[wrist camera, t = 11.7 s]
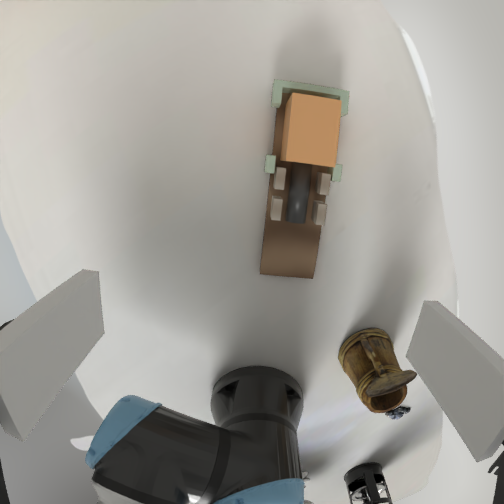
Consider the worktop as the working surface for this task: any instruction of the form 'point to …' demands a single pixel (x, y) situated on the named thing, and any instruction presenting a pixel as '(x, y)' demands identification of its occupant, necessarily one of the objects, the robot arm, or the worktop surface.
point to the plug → (308, 145)
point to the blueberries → (397, 412)
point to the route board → (286, 233)
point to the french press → (367, 484)
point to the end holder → (307, 89)
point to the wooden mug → (375, 370)
